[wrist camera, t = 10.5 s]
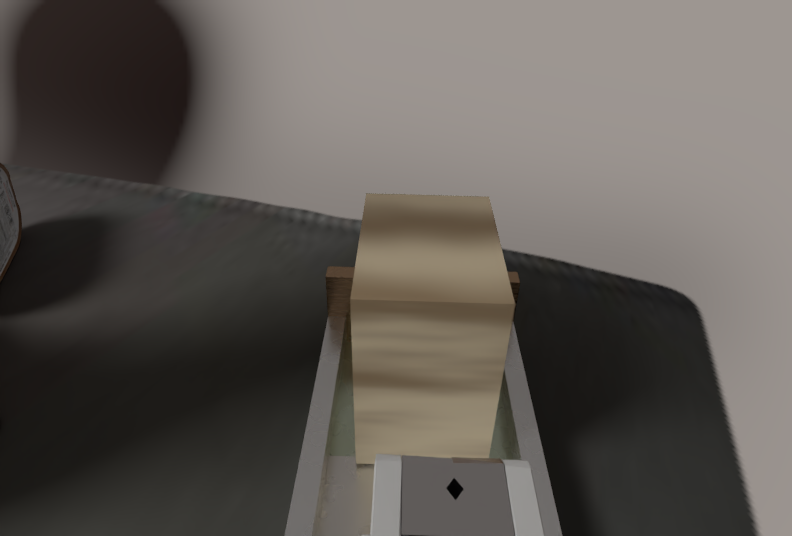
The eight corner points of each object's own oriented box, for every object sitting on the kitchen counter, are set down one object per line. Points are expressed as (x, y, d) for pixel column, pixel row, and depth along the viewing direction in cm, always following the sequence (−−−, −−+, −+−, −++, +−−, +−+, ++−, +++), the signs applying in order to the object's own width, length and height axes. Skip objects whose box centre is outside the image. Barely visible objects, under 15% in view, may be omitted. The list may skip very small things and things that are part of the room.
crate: (487, 467, 30) (514, 304, 24) (355, 463, 30) (350, 299, 24) (470, 336, 39) (487, 192, 33) (368, 333, 39) (367, 188, 33)
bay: (611, 861, 19) (661, 808, 15) (240, 846, 19) (210, 791, 16) (505, 341, 40) (517, 272, 37) (332, 335, 41) (328, 266, 37)
